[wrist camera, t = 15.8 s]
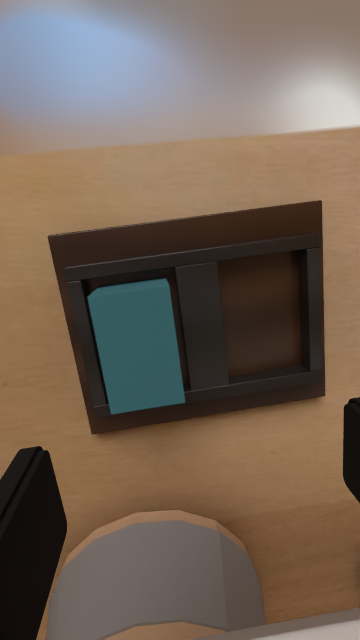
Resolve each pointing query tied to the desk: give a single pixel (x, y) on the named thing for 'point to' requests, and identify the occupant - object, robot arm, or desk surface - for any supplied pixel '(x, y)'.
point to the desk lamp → (156, 582)
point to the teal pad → (137, 344)
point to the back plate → (239, 295)
